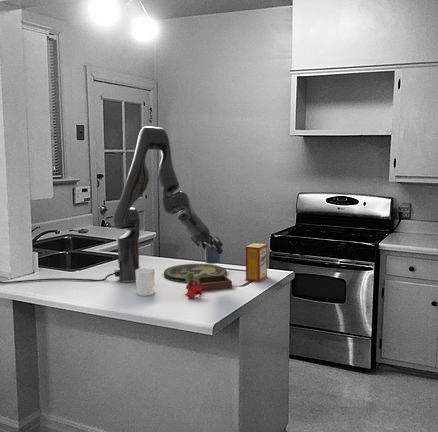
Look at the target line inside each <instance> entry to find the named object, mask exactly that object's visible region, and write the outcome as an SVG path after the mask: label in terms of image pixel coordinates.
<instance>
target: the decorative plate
mask: <svg viewBox="0 0 438 432" xmlns="http://www.w3.org/2000/svg"><path fill="white" fill-rule="evenodd" d="M189 272H192V273H193V275H194V278H195V277H196V276H197V277H206V276H218V275H225V276H226V277H227V269H226V268H224V267H223V266H220V265H216V264H208V263H185V264H177V265H173V266H170V267H167V268H166V269H164V271H163V277H164V278H166V279H168V280H170V281H175V282H182V283H187V282H186V278H185V276H186V273H189Z"/></svg>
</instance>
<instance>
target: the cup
mask: <svg viewBox="0 0 438 432" xmlns="http://www.w3.org/2000/svg"><path fill="white" fill-rule="evenodd" d="M212 243H213V241H212ZM212 243H211V245H212ZM214 246H215V247H216V245H214ZM204 262H205V263H204V264H211V265H216V264H220V263H221V254H219V253H218V252H217V251H216V249H214V248H213V247H210V246H209V245H207V244H205V250H204Z"/></svg>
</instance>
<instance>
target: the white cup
mask: <svg viewBox="0 0 438 432" xmlns="http://www.w3.org/2000/svg"><path fill="white" fill-rule="evenodd" d="M139 268H140V269H137V270H135V273H136V281H135V283H136V292H137V293H136V294H137V295H138V296H141V297H142V296H144V297H147V296H152V295H154V294H155V273H156V272H155V268H151V267H139Z"/></svg>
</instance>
